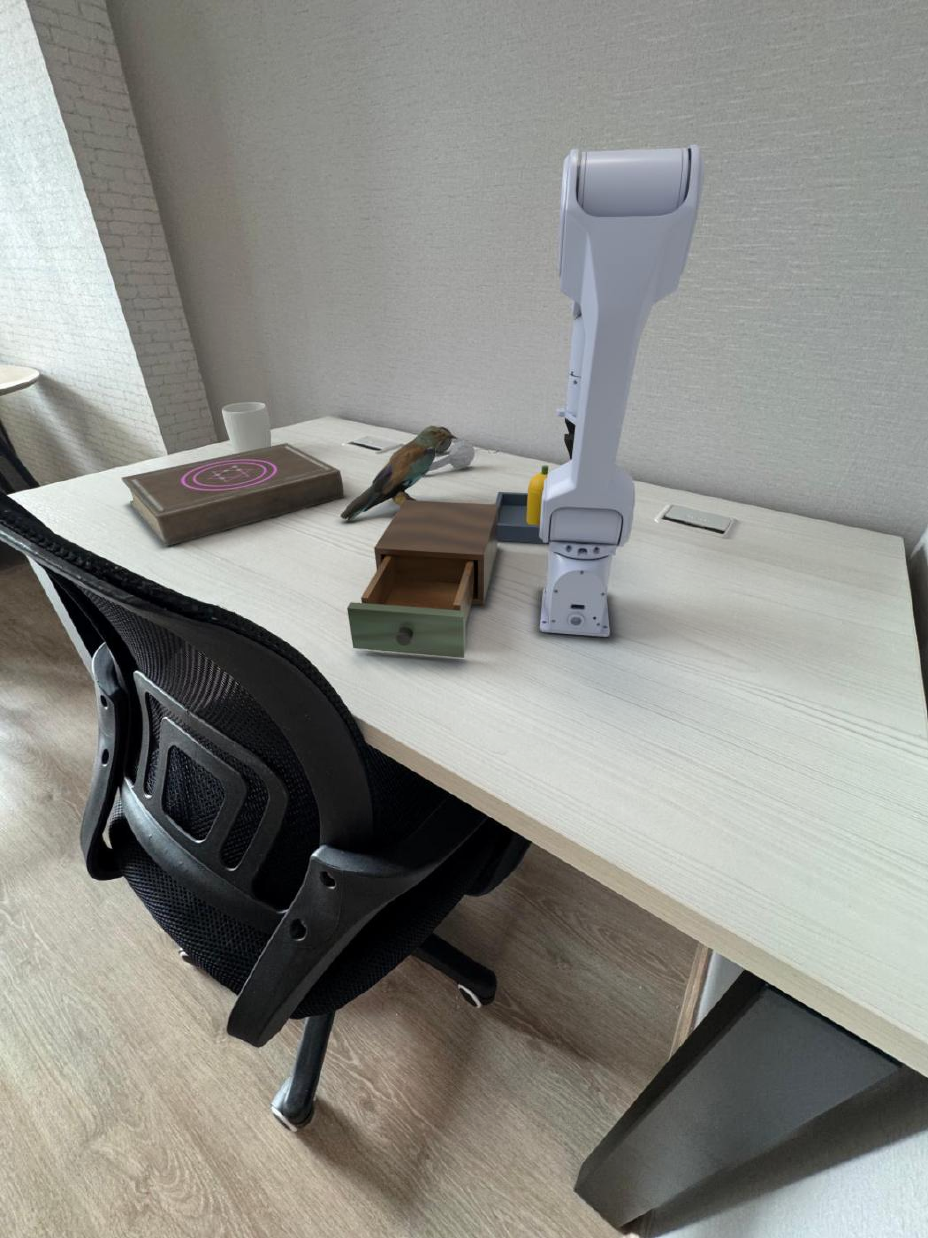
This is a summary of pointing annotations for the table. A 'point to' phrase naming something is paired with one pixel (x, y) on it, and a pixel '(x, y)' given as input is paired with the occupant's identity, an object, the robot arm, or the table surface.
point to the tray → (515, 519)
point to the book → (231, 491)
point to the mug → (247, 426)
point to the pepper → (536, 497)
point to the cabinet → (445, 535)
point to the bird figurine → (400, 472)
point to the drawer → (415, 606)
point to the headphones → (453, 453)
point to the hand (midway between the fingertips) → (580, 478)
